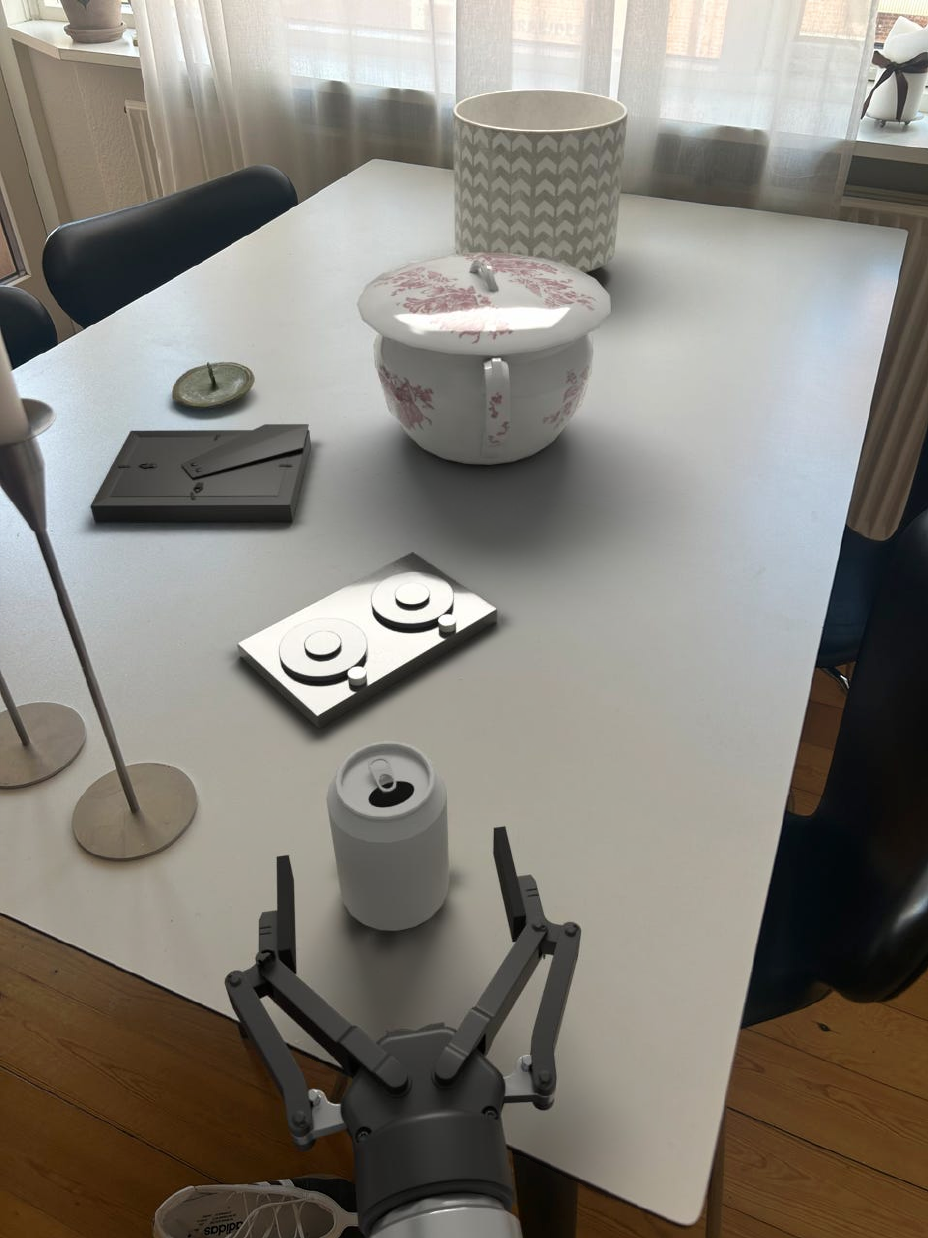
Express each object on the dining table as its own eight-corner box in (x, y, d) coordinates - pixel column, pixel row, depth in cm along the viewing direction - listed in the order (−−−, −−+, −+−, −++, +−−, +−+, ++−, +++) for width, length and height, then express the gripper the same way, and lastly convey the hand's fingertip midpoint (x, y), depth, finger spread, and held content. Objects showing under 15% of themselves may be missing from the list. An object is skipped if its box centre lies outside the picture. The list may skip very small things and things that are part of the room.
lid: (269, 395, 126) (267, 356, 124) (234, 412, 117) (231, 371, 115) (196, 390, 128) (192, 351, 126) (156, 406, 119) (151, 365, 117)
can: (362, 955, 63) (346, 842, 55) (326, 867, 68) (307, 752, 60) (467, 913, 65) (466, 799, 57) (425, 831, 70) (418, 716, 63)
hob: (239, 656, 85) (235, 634, 84) (413, 563, 95) (412, 543, 94) (319, 729, 78) (315, 707, 77) (497, 621, 89) (497, 600, 87)
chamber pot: (457, 363, 129) (455, 202, 116) (640, 420, 117) (661, 247, 104) (316, 450, 112) (294, 273, 99) (513, 528, 100) (519, 338, 86)
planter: (629, 256, 159) (645, 95, 144) (588, 313, 142) (602, 137, 126) (487, 238, 166) (488, 83, 151) (431, 291, 149) (426, 121, 133)
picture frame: (311, 445, 113) (134, 446, 113) (308, 423, 111) (129, 424, 111) (292, 521, 101) (95, 522, 101) (289, 498, 99) (88, 499, 99)
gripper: (182, 1301, 46) (204, 915, 62) (684, 1209, 49) (580, 863, 65) (148, 1247, 41) (181, 844, 57) (707, 1149, 44) (589, 791, 60)
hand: (393, 853), depth 61 cm, fingers open, 13 cm apart
